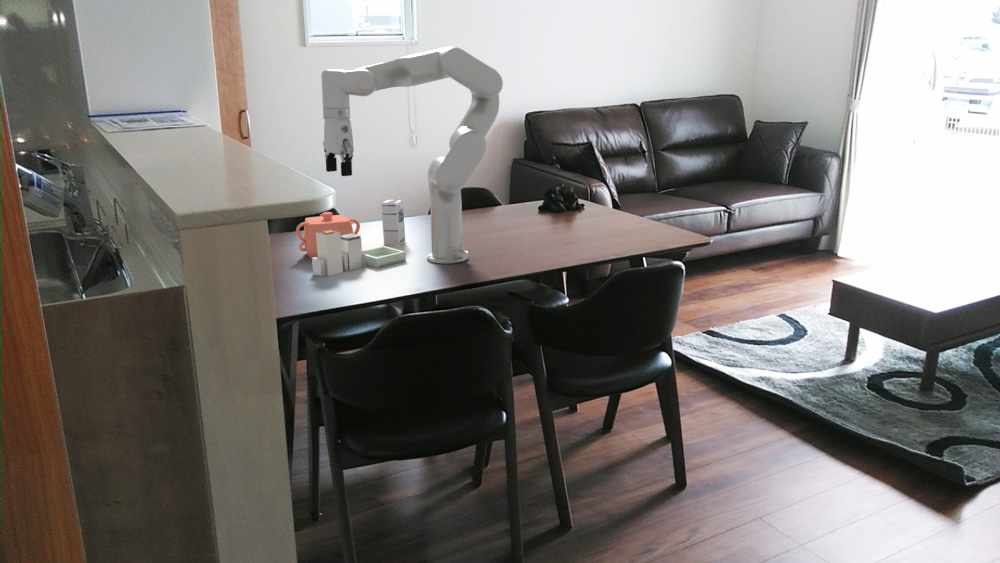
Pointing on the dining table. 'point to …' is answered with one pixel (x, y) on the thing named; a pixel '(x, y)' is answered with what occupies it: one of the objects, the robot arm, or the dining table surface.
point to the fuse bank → (345, 255)
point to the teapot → (323, 229)
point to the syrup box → (393, 222)
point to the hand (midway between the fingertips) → (339, 173)
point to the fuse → (330, 251)
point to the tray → (384, 256)
